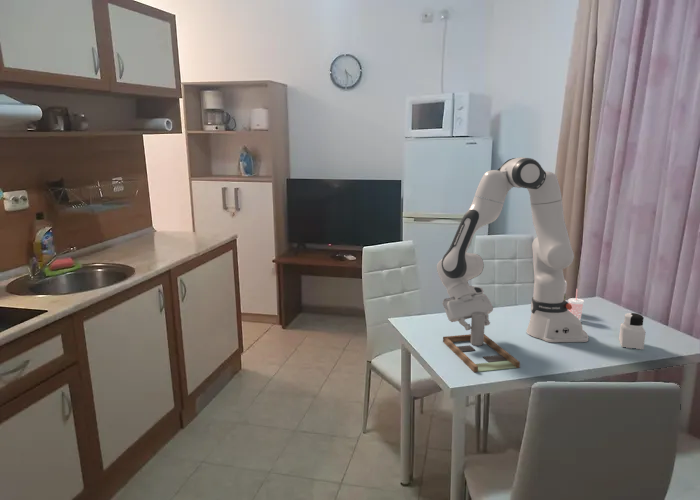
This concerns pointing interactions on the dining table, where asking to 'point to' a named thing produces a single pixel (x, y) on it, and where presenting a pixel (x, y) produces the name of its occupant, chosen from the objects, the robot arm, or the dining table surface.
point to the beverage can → (477, 328)
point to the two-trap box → (494, 361)
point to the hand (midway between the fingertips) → (478, 327)
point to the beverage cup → (576, 306)
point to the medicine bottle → (632, 331)
